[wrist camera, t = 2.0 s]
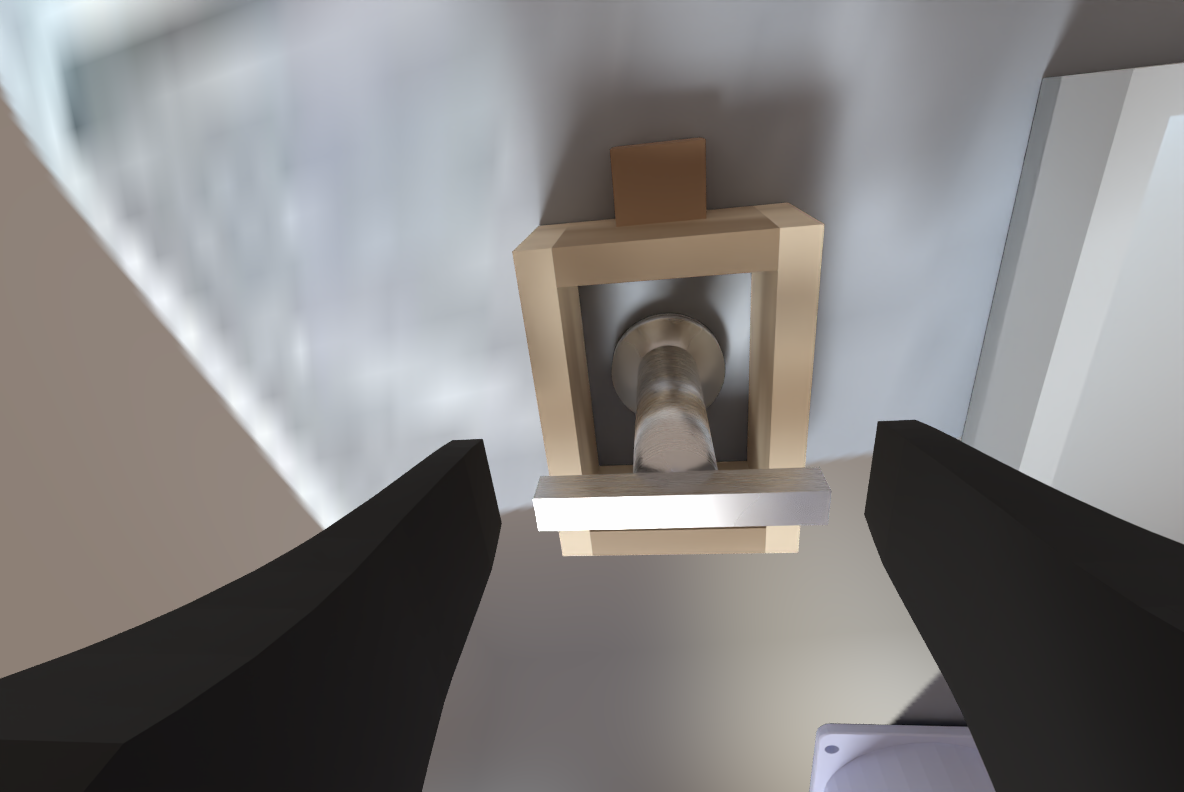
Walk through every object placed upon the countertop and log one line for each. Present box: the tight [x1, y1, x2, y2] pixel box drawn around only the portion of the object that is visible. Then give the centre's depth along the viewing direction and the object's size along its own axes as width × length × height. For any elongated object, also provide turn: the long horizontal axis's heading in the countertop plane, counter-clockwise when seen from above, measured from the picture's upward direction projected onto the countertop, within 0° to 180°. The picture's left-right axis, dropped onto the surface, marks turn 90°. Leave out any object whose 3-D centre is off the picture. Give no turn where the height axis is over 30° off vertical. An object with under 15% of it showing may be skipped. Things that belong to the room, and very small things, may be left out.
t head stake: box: [533, 313, 831, 531], centre depth 12 cm, size 3×5×6 cm, turn 96°
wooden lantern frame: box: [512, 137, 824, 556], centre depth 13 cm, size 10×6×3 cm, turn 6°
